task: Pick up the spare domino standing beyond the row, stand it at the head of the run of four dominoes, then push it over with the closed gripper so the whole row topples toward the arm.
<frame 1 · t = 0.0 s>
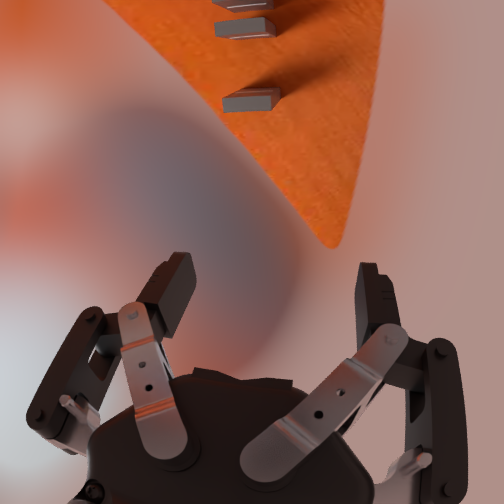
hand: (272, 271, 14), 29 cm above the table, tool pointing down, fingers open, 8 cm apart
lead tile: (261, 93, 36), on the table
tile 3: (253, 5, 28), on the table
tile 2: (255, 32, 31), on the table
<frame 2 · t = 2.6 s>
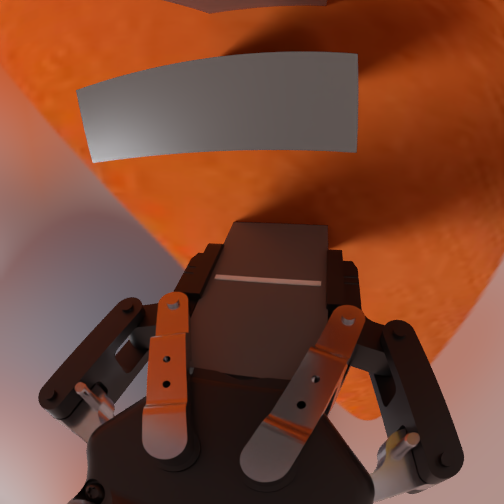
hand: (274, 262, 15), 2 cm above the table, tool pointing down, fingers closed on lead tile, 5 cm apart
lead tile: (280, 236, 17), on the table, touching gripper
tile 2: (271, 73, 11), on the table
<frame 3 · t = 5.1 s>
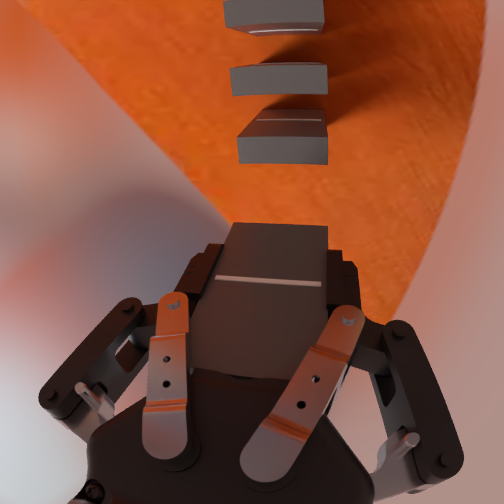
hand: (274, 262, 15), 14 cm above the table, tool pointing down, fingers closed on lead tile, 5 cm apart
lead tile: (280, 236, 17), point 12 cm above the table, touching gripper
tile 3: (291, 71, 21), on the table
tile 4: (287, 25, 18), on the table
tile 2: (293, 117, 23), on the table
when the fingers open (3 cm above the table, at t = 7.4 s): lead tile stays where it is, on the table.
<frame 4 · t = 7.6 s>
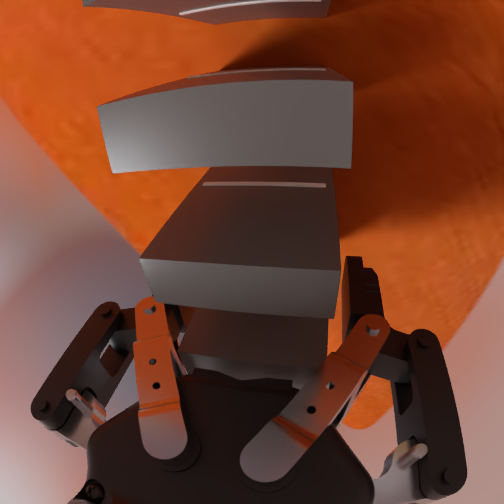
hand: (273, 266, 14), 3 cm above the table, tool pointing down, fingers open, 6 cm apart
lead tile: (282, 230, 17), on the table
tile 3: (273, 83, 12), on the table
tile 4: (267, 3, 10), on the table
tile 2: (278, 162, 15), on the table
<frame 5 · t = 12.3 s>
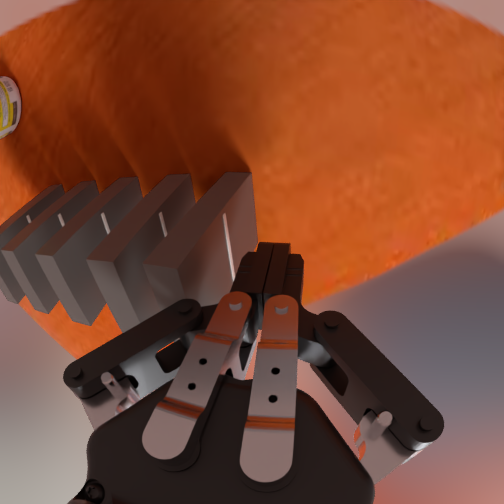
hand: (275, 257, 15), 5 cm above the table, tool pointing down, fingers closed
supplement bottle: (8, 103, 17), on the table
lead tile: (242, 208, 19), on the table, tilted 6°, touching gripper
end tile: (64, 210, 23), on the table
tile 3: (136, 208, 21), on the table
tile 4: (96, 209, 22), on the table
tile 2: (185, 208, 20), on the table
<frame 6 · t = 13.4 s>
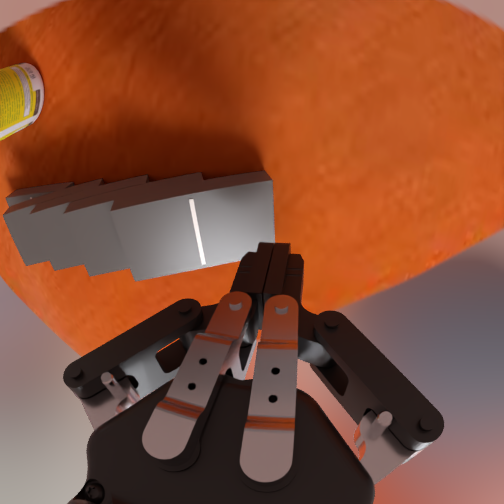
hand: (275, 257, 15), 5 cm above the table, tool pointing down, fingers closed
supplement bottle: (28, 92, 17), on the table
lead tile: (270, 213, 19), point 1 cm above the table, tilted 66°, touching tile 2
end tile: (77, 213, 22), point 1 cm above the table, tilted 89°, touching tile 4
tile 3: (154, 211, 20), point 1 cm above the table, tilted 66°, touching tile 2, tile 4
tile 4: (109, 212, 21), point 1 cm above the table, tilted 66°, touching end tile, tile 3
tile 2: (208, 212, 19), point 1 cm above the table, tilted 66°, touching lead tile, tile 3
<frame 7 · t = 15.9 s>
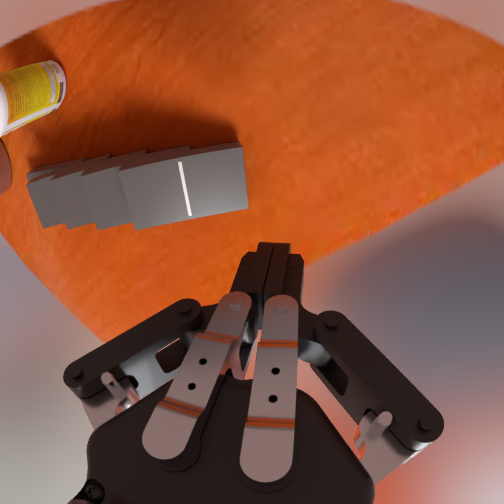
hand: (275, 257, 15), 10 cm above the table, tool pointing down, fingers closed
supplement bottle: (51, 85, 21), on the table
lead tile: (243, 175, 23), point 1 cm above the table, tilted 66°, touching tile 2
end tile: (88, 183, 26), point 1 cm above the table, tilted 89°, touching tile 4
tile 3: (151, 178, 25), point 1 cm above the table, tilted 66°, touching tile 2, tile 4
tile 4: (115, 181, 25), point 1 cm above the table, tilted 66°, touching end tile, tile 3
tile 2: (194, 176, 24), point 1 cm above the table, tilted 66°, touching lead tile, tile 3
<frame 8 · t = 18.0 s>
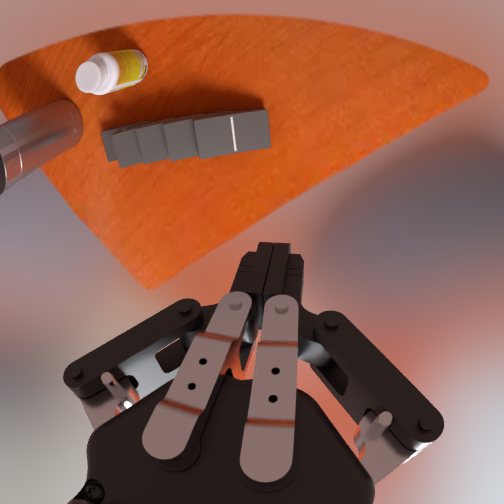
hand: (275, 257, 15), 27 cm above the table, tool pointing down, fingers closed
supplement bottle: (133, 66, 34), on the table
lead tile: (267, 127, 36), point 1 cm above the table, tilted 66°
end tile: (155, 136, 40), point 1 cm above the table, tilted 89°, touching tile 4
tile 3: (206, 131, 38), point 1 cm above the table, tilted 66°, touching tile 2, tile 4
tile 4: (178, 134, 39), point 1 cm above the table, tilted 66°, touching end tile, tile 3
tile 2: (235, 128, 37), point 1 cm above the table, tilted 66°, touching tile 3
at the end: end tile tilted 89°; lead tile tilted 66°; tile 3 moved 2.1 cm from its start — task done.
